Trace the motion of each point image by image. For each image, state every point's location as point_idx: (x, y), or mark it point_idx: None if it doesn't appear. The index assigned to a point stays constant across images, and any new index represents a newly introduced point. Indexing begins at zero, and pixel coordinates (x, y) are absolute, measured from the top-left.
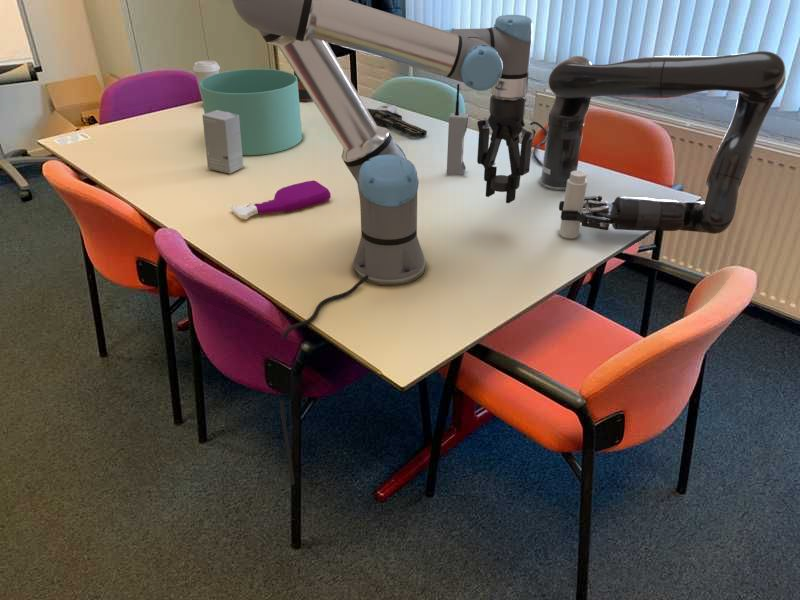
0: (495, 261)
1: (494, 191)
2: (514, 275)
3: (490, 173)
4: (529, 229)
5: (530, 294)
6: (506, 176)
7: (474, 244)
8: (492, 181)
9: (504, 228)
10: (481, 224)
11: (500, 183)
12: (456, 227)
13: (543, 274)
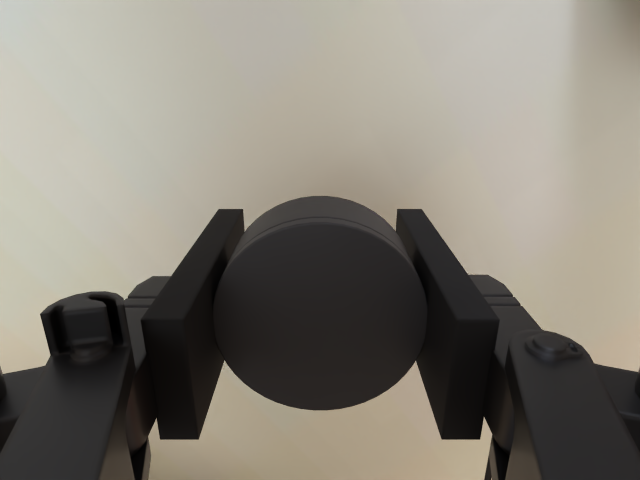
0: None
1: (240, 221)
2: None
3: (206, 399)
4: (423, 35)
5: None
6: (317, 241)
7: None
8: (276, 398)
9: (317, 113)
10: (207, 151)
11: (363, 400)
12: (148, 250)
13: (627, 340)
